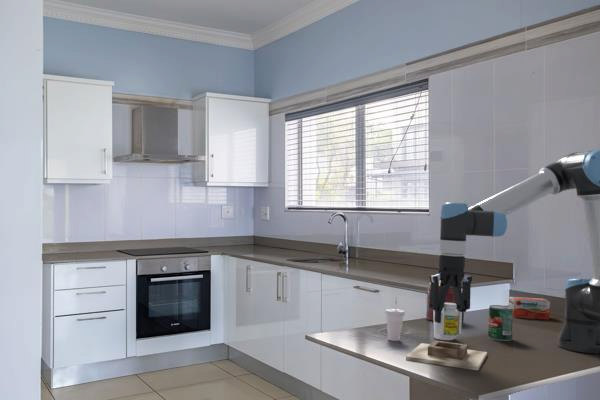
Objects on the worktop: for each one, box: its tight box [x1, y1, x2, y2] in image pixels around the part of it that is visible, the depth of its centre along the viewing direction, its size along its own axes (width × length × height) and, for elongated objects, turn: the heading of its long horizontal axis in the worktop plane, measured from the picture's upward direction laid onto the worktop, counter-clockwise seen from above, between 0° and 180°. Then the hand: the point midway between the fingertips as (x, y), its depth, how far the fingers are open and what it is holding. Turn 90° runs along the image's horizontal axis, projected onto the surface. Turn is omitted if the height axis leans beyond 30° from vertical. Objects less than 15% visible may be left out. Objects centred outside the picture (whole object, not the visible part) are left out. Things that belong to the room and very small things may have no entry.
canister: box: [425, 279, 458, 322], centre depth 239 cm, size 13×13×18 cm
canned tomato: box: [487, 304, 514, 342], centre depth 208 cm, size 8×8×11 cm
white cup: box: [432, 309, 457, 341], centre depth 204 cm, size 8×8×10 cm
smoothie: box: [384, 296, 406, 342], centre depth 198 cm, size 6×6×14 cm
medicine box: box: [508, 296, 551, 321], centre depth 257 cm, size 15×8×8 cm, turn 86°
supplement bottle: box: [439, 303, 459, 339], centre depth 177 cm, size 5×5×10 cm
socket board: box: [405, 339, 488, 371], centre depth 177 cm, size 20×20×4 cm
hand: (448, 333), depth 177 cm, fingers closed on supplement bottle, 5 cm apart
